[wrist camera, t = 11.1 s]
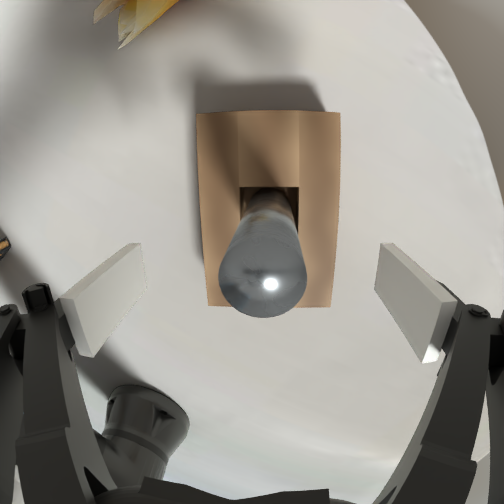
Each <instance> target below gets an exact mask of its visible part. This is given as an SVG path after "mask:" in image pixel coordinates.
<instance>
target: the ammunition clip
mask: <svg viewBox="0 0 504 504" xmlns="http://www.w3.org/2000/svg"><path fill="white" fill-rule="evenodd" d="M10 247H11V245H10V243H9V241H8V239H7V237H5V238H3V239H1V240H0V260H1V259H2V258H3V256H4V255H5V254H6V253H7V251H8V250H9V249H10Z"/></svg>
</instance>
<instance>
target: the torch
mask: <svg viewBox="0 0 504 504" xmlns="http://www.w3.org/2000/svg"><path fill="white" fill-rule="evenodd" d="M178 1H179V0H103V1H102V2H101V4H100V5H99V6H98V7H97V8H96V9H95V11H94V15H93V16H94V17H93V24H95V23H96V22H98V21H99V20H100V19H102V18H103V17H105V16H106V15H107V14H109V13H110V12H112V11H113V10H115V9H116V8H117V7H118V6H122V5H124V6H123V7H122V8H121V9H120V14H119V20H118V36H119V42H120V41H121V40H123V39H124V38H126V39H125V40H124V41H123V43H122V44H121V45H120V47H119V48H118V49H120V48H122V47H123V46H125V45H127V44H128V43H129V42H130V41H132V40H133V39H134V38H135V37H136V36H137V35H138V34H140V33H141V32H142V31H143V30H144V29H146V28H147V27H148V26H149V25H151V24H152V23H153V22H154V21H156V20H157V19H158V18H159V17H160V16H161V15H163V14H164V13H165V12H166V11H167V10H168V9H169V8H171V7H172V6H173V5H174V4H175V3H177V2H178Z"/></svg>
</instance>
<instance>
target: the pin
mask: <svg viewBox="0 0 504 504" xmlns="http://www.w3.org/2000/svg"><path fill="white" fill-rule="evenodd" d="M218 281H219V286H220V290H221V292H222V294H223V296H224V297H225V299H226V300H227V301H228V303H229V304H230V305H231V306H232V307H234V308H235V309H236V310H238V311H240V312H241V313H244V314H246V315H249V316H253V317H259V318H269V317H275V316H278V315H281V314H283V313H285V312H287V311H289V310H290V309H292V308H293V307H294V306H295V305H296V304H297V303H298V302H299V301H300V299H301V298H302V296H303V294H304V292H305V289H306V286H307V271H306V266H305V262H304V258H303V254H302V250H301V246H300V242H299V238H298V234H297V230H296V226H295V222H294V218H293V214H292V210H291V207H290V203H289V200H288V198H287V196H286V195H285V194H284V193H283V192H282V191H280V190H278V189H276V188H271V187H268V188H263V189H260V190H258V191H257V192H256V193H255V194H254V195H253V196H252V198H251V200H250V202H249V204H248V206H247V208H246V210H245V212H244V214H243V216H242V219H241V221H240V223H239V225H238V227H237V229H236V231H235V234H234V236H233V238H232V240H231V242H230V244H229V247H228V249H227V251H226V253H225V255H224V257H223V260H222V262H221V264H220V267H219V273H218Z"/></svg>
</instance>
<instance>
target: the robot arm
mask: <svg viewBox="0 0 504 504" xmlns="http://www.w3.org/2000/svg"><path fill="white" fill-rule="evenodd" d="M147 288H148V287H147V282H146V276H145V270H144V264H143V257H142V250H141V243H132V244H127V245H126V246H125V247H123V248H122V249H121V250H119V251H118V252H117V253H115V254H114V255H113V256H111V257H110V258H109V259H107V260H106V261H105V262H103V263H102V264H101V265H99V266H98V267H97V268H96V269H94V270H93V271H92V272H90V273H89V274H88V275H87V276H85V277H84V278H83V279H82V280H80V281H79V282H78V283H77V284H75V285H74V286H73V287H72V288H70V289H69V290H68V291H67V292H66V293H64V294H63V295H62V296H61V297H59V299H57V300H56V301H55V302H54V301H53V298H52V295H51V291H50V288H49V285H48V284H46V283H39V284H35V285H32V286H30V287H28V288H26V289H25V290H24V291H23V292H22V296H23V299H24V302H25V305H26V308H27V310H28V314H20V313H19V310H18V308H17V306H16V305H15V304H9V305H7V304H6V305H4V306H1V307H0V504H355V503H351V502H348V501H344V500H339V499H331V498H329V489H319V490H306V491H284V492H278V493H273V494H268V495H263V496H258V497H252V498H246V499H239V500H229V499H226V498H222V497H219V496H216V495H213V494H210V493H207V492H204V491H201V490H199V489H196V488H193V487H191V486H188V485H185V484H179V483H173V482H168V481H163V476H164V473H165V470H166V466H167V463H168V460H169V458H170V456H171V455H172V454H173V453H174V451H175V450H176V449H177V448H178V447H179V445H180V444H181V443H182V442H183V440H184V439H185V438H186V436H187V433H188V429H189V425H190V423H189V419H188V417H187V415H186V414H185V412H184V411H183V410H182V409H181V408H180V407H179V406H178V405H177V404H176V403H174V402H173V401H172V400H170V399H169V398H167V397H165V396H164V395H162V394H160V393H158V392H155V391H153V390H150V389H147V388H144V387H140V386H134V385H124V386H120V387H117V388H116V389H115V390H114V391H113V393H112V394H111V396H110V398H109V400H108V404H107V412H106V420H105V428H104V431H103V433H102V435H101V434H99V433H98V432H97V431H95V430H94V429H93V428H92V426H91V423H90V419H89V416H88V413H87V409H86V406H85V402H84V399H83V395H82V391H81V387H80V383H79V379H78V375H77V370H76V366H75V361H74V356H73V353H72V351H71V348H72V346H73V345H74V344H75V345H76V347H77V350H78V352H79V355H83V356H87V357H92V358H93V357H94V356H95V355H96V353H97V352H98V351H99V349H100V348H101V347H102V345H103V344H104V343H105V341H106V340H107V339H108V338H109V336H110V335H111V334H112V332H113V331H114V330H115V328H116V327H117V326H118V325H119V323H120V322H121V321H122V319H123V318H124V317H125V316H126V314H127V313H128V312H129V311H130V309H131V308H132V307H133V306H134V304H135V303H136V302H137V301H138V299H139V298H140V297H141V296H142V294H143V293H144V292H145V291H146V290H147ZM374 290H375V291H376V293H377V294H378V296H379V297H380V299H381V300H382V302H383V303H384V305H385V306H386V308H387V309H388V311H389V312H390V314H391V315H392V317H393V318H394V320H395V321H396V323H397V324H398V326H399V327H400V329H401V331H402V332H403V334H404V335H405V337H406V338H407V340H408V342H409V343H410V345H411V347H412V348H413V350H414V351H415V353H416V355H417V356H418V358H419V360H420V361H421V363H428V362H433V361H437V359H438V357H439V354H440V352H441V349H443V351H444V352H445V354H446V355H445V358H444V360H443V363H442V365H441V367H440V369H439V372H438V374H437V376H438V378H437V380H436V383H435V386H434V389H433V391H432V394H431V396H430V399H429V401H428V404H427V406H426V409H425V411H424V413H423V416H422V418H421V420H420V422H419V425H418V427H417V429H416V431H415V433H414V435H413V437H412V439H411V441H410V443H409V445H408V447H407V449H406V451H405V453H404V455H403V457H402V458H401V460H400V462H399V464H398V466H397V467H396V469H395V471H394V473H393V474H392V476H391V478H390V479H389V481H388V482H387V484H386V486H385V487H384V489H383V490H382V492H381V493H380V495H379V496H378V497H377V499H376V500H375V501H374V502H373V504H465V502H466V499H467V497H468V494H469V491H470V488H471V485H472V482H473V479H474V476H475V473H476V468H477V463H476V461H473V460H471V455H472V451H473V448H474V444H475V440H476V436H477V432H478V428H479V423H480V419H481V414H482V408H483V403H484V396H485V390H486V397H487V406H488V416H489V430H490V485H489V496H488V504H504V310H503V313H502V315H501V318H491V316H490V313H489V312H488V311H487V310H486V309H484V308H483V307H481V306H478V305H474V304H467V305H465V304H464V303H463V302H462V301H461V300H460V299H459V298H458V297H457V296H456V295H454V293H453V292H452V291H450V290H449V289H448V288H447V287H446V286H445V285H444V284H442V283H440V282H439V281H437V280H435V279H434V278H433V277H432V276H430V275H429V274H428V273H427V272H426V271H425V270H424V269H423V268H421V267H420V266H419V265H418V264H417V263H416V262H415V261H413V260H412V259H411V258H410V257H409V256H408V255H406V254H405V253H404V252H403V251H402V250H400V249H399V248H398V247H397V246H396V245H394V244H393V243H381V245H380V253H379V260H378V268H377V274H376V281H375V287H374Z"/></svg>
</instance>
